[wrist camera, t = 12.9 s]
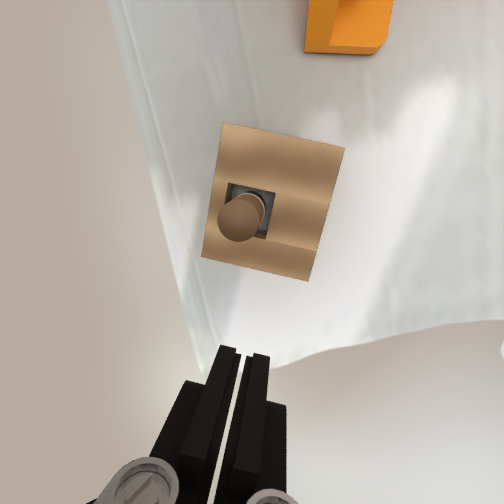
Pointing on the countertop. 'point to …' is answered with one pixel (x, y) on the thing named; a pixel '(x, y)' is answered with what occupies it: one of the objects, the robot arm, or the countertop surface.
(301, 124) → the countertop surface
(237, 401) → the robot arm
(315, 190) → the board
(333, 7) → the bracket
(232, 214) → the peg
